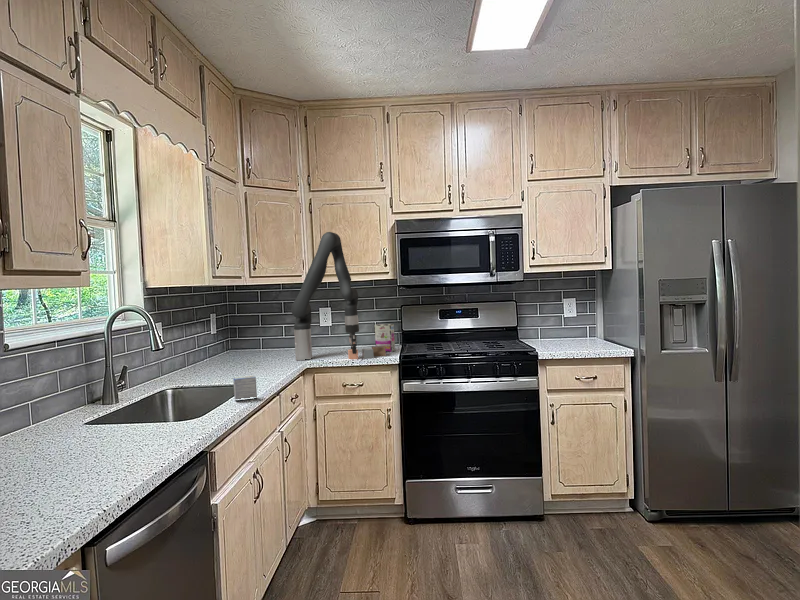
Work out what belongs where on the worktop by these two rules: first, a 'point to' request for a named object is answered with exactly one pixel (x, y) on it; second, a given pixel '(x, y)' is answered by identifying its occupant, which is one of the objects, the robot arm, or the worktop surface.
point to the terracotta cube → (351, 355)
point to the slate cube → (367, 353)
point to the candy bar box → (385, 336)
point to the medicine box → (245, 387)
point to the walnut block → (379, 351)
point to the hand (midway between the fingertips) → (353, 352)
